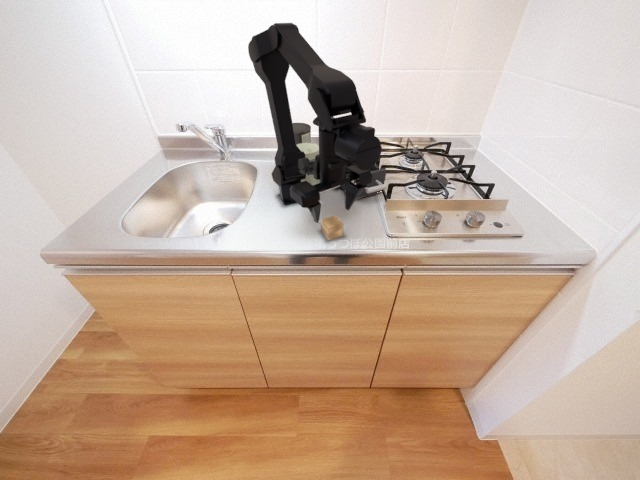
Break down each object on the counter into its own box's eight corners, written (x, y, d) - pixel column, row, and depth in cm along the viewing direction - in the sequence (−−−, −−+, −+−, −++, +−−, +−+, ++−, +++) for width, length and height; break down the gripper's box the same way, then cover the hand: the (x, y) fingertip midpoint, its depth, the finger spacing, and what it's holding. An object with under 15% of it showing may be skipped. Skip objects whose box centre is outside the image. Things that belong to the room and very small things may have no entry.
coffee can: (290, 174, 90) (286, 133, 81) (281, 163, 97) (277, 125, 88) (316, 168, 93) (315, 128, 84) (306, 158, 101) (304, 121, 91)
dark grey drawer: (392, 199, 75) (396, 176, 70) (358, 208, 71) (360, 185, 66) (360, 174, 87) (362, 153, 83) (331, 180, 84) (331, 159, 79)
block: (328, 240, 62) (328, 227, 60) (321, 231, 65) (321, 218, 63) (342, 236, 63) (343, 223, 61) (335, 227, 66) (335, 214, 64)
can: (302, 190, 81) (299, 154, 73) (289, 179, 87) (285, 145, 79) (326, 183, 85) (326, 147, 77) (312, 172, 91) (310, 139, 83)
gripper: (344, 132, 59) (342, 190, 70) (273, 150, 52) (282, 213, 62) (377, 146, 52) (369, 208, 63) (301, 169, 45) (306, 236, 55)
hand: (332, 215), depth 61 cm, fingers open, 9 cm apart
